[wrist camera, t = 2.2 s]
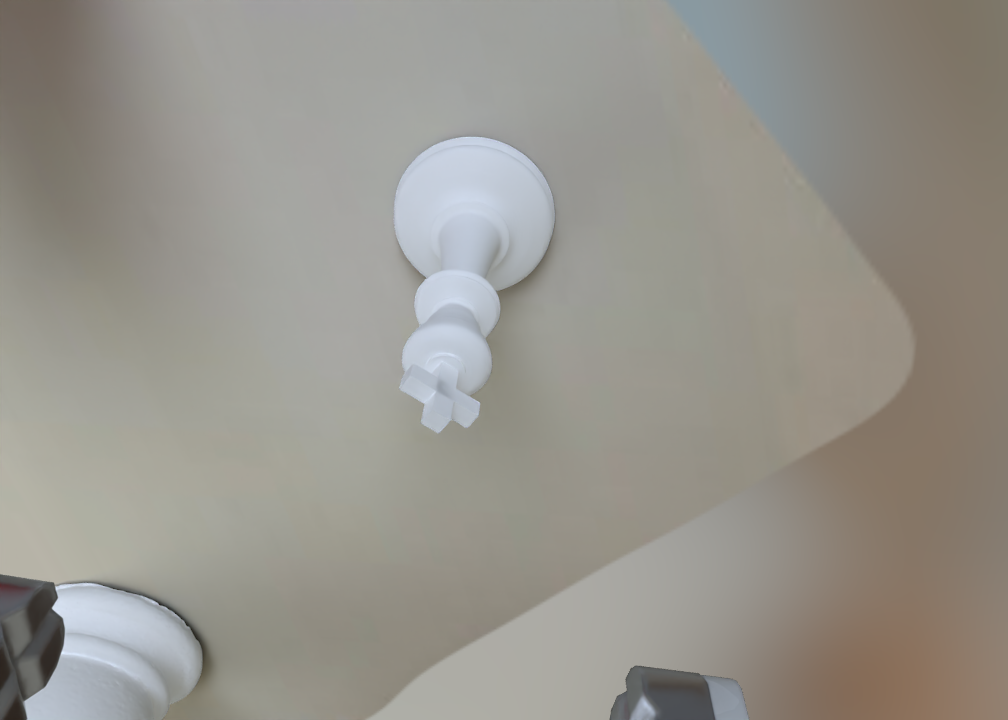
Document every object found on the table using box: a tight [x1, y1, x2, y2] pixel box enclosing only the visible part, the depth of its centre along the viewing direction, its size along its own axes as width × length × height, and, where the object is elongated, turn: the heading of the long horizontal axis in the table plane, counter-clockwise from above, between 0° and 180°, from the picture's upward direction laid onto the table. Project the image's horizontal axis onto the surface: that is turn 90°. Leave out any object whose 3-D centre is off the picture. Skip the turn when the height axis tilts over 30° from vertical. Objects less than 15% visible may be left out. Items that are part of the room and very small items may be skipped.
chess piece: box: [394, 137, 555, 433], centre depth 19 cm, size 5×5×10 cm
